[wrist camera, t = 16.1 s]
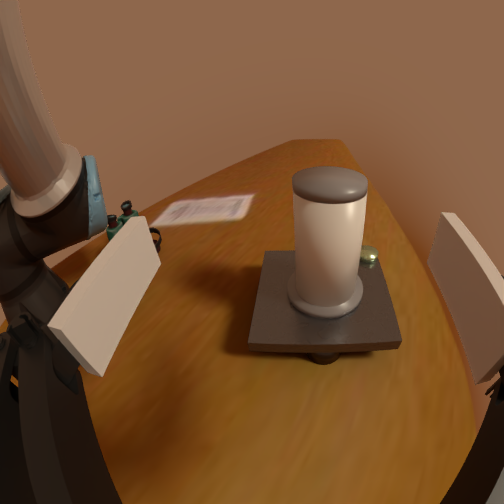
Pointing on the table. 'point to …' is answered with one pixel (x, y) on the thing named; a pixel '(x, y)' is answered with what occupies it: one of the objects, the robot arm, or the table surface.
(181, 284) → the table surface
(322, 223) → the white flanged cylinder
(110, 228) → the binoculars
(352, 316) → the stand
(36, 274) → the robot arm
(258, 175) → the table surface
